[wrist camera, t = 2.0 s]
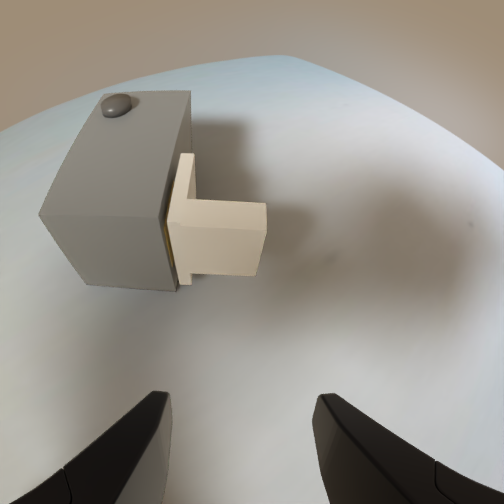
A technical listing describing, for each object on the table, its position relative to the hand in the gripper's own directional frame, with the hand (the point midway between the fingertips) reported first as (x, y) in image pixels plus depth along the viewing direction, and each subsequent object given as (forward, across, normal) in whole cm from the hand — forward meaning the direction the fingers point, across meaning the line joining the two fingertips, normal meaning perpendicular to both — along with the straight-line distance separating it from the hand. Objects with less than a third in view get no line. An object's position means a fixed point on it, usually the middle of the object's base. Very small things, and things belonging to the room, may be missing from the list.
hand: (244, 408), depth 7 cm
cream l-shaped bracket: (+16, +1, +1) cm, 16 cm away
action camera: (+19, +7, -1) cm, 21 cm away
